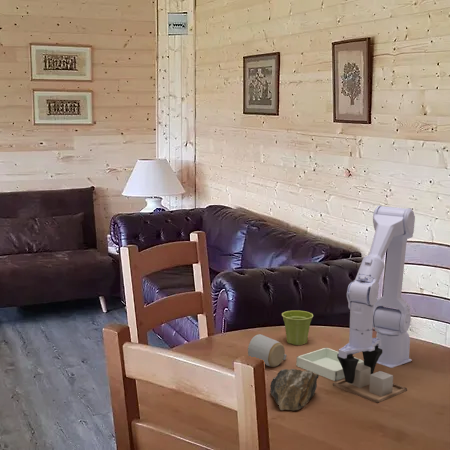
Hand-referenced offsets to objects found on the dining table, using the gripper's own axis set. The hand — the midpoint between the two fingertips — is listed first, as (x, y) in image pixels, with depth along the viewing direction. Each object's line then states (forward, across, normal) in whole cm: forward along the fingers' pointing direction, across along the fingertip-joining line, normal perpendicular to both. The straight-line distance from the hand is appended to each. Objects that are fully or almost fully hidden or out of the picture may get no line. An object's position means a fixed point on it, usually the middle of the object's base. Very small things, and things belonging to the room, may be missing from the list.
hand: (359, 378), depth 181 cm
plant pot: (+2, +12, +34) cm, 35 cm away
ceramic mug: (+2, -7, +27) cm, 27 cm away
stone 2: (+1, 0, -7) cm, 7 cm away
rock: (+2, -20, +5) cm, 21 cm away
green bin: (+2, +2, +12) cm, 12 cm away
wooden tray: (+2, 0, -4) cm, 4 cm away
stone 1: (+1, 0, 0) cm, 1 cm away
